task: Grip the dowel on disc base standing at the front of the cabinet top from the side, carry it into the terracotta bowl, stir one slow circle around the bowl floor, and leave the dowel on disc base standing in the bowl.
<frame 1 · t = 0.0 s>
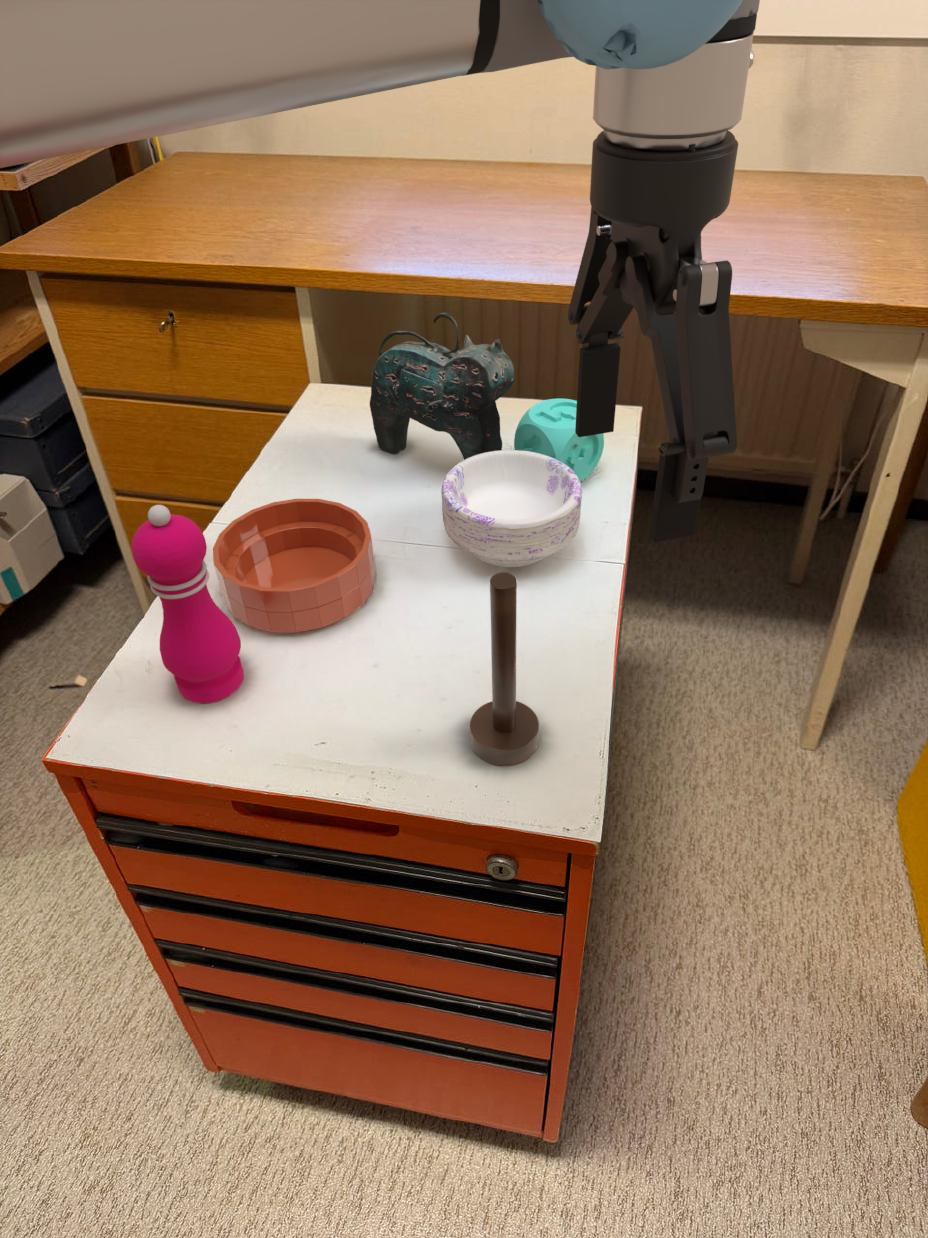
hand: (629, 480, 60), 27 cm above the cabinet, tool pointing down, fingers open, 13 cm apart
bowl: (301, 586, 95), on the cabinet
pepper mill: (211, 682, 85), on the cabinet
paper bowls: (511, 544, 100), on the cabinet
ceramic cat: (439, 465, 113), on the cabinet
dowel on disc base: (504, 739, 78), on the cabinet
decorative dice: (557, 471, 111), on the cabinet
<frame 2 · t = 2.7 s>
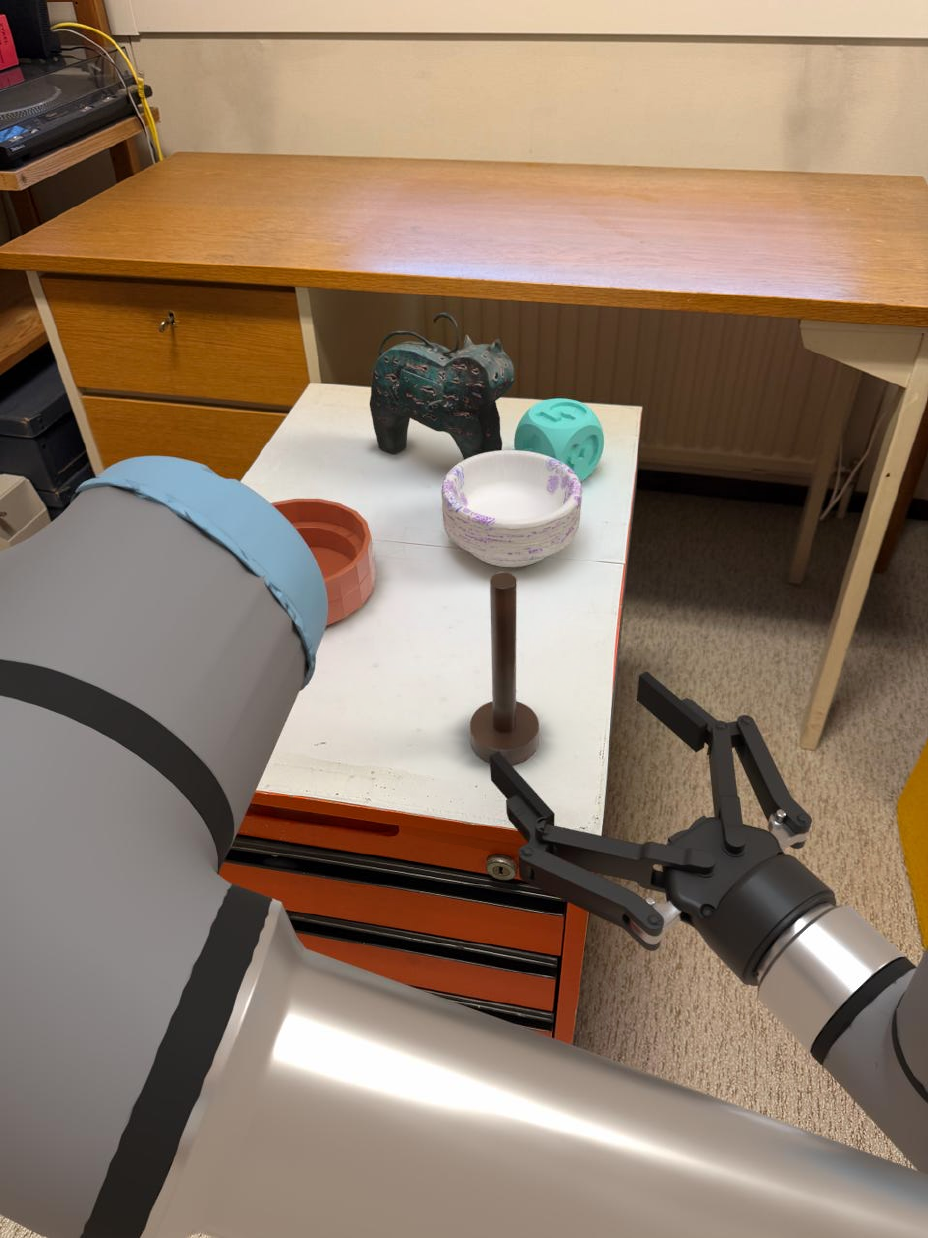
hand: (570, 723, 65), 10 cm above the cabinet, tool horizontal, fingers open, 13 cm apart
nothing on the cabinet moved.
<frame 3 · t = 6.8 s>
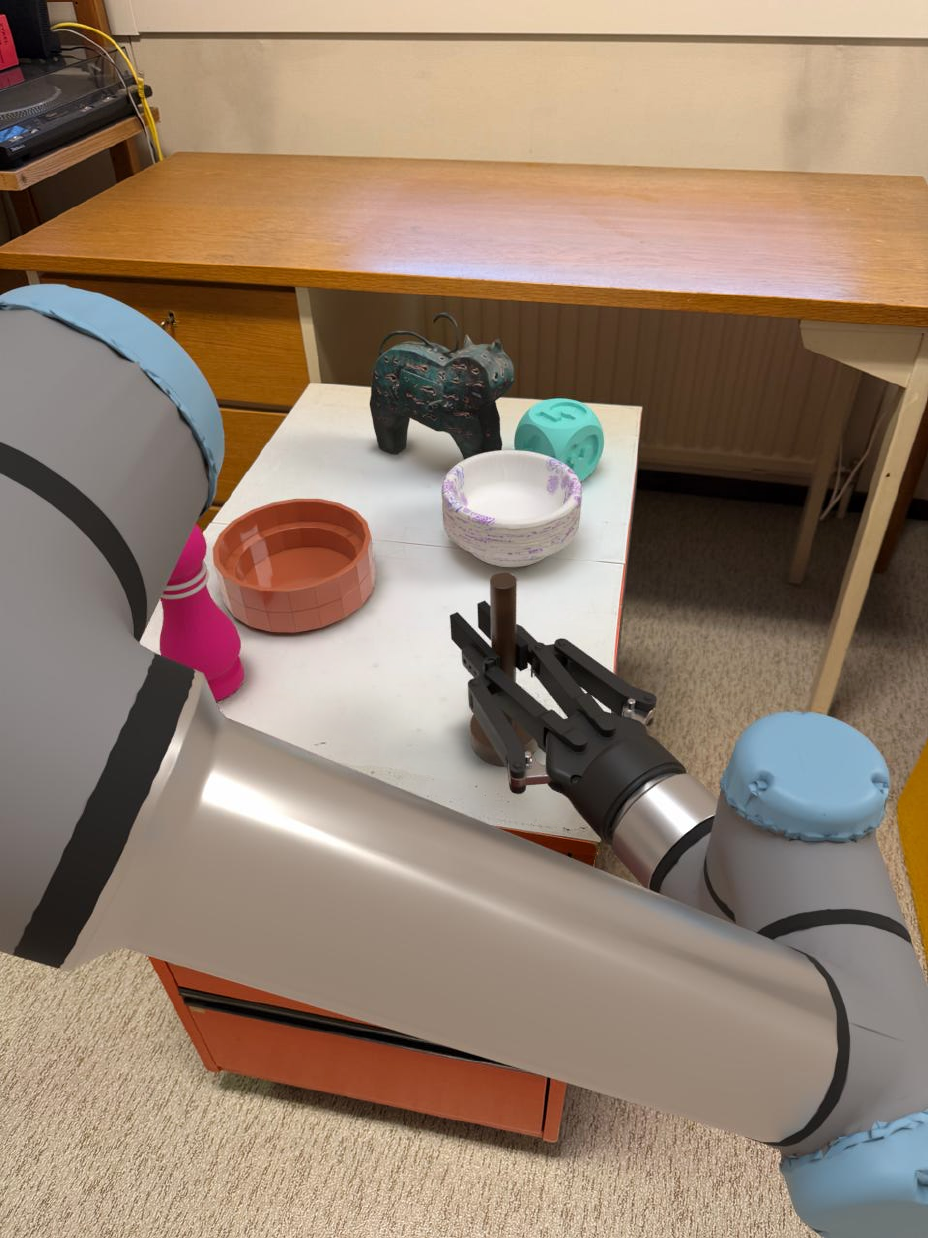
hand: (468, 620, 75), 10 cm above the cabinet, tool horizontal, fingers closed on dowel on disc base, 2 cm apart
dowel on disc base: (504, 739, 78), on the cabinet, touching gripper
everything else where it was.
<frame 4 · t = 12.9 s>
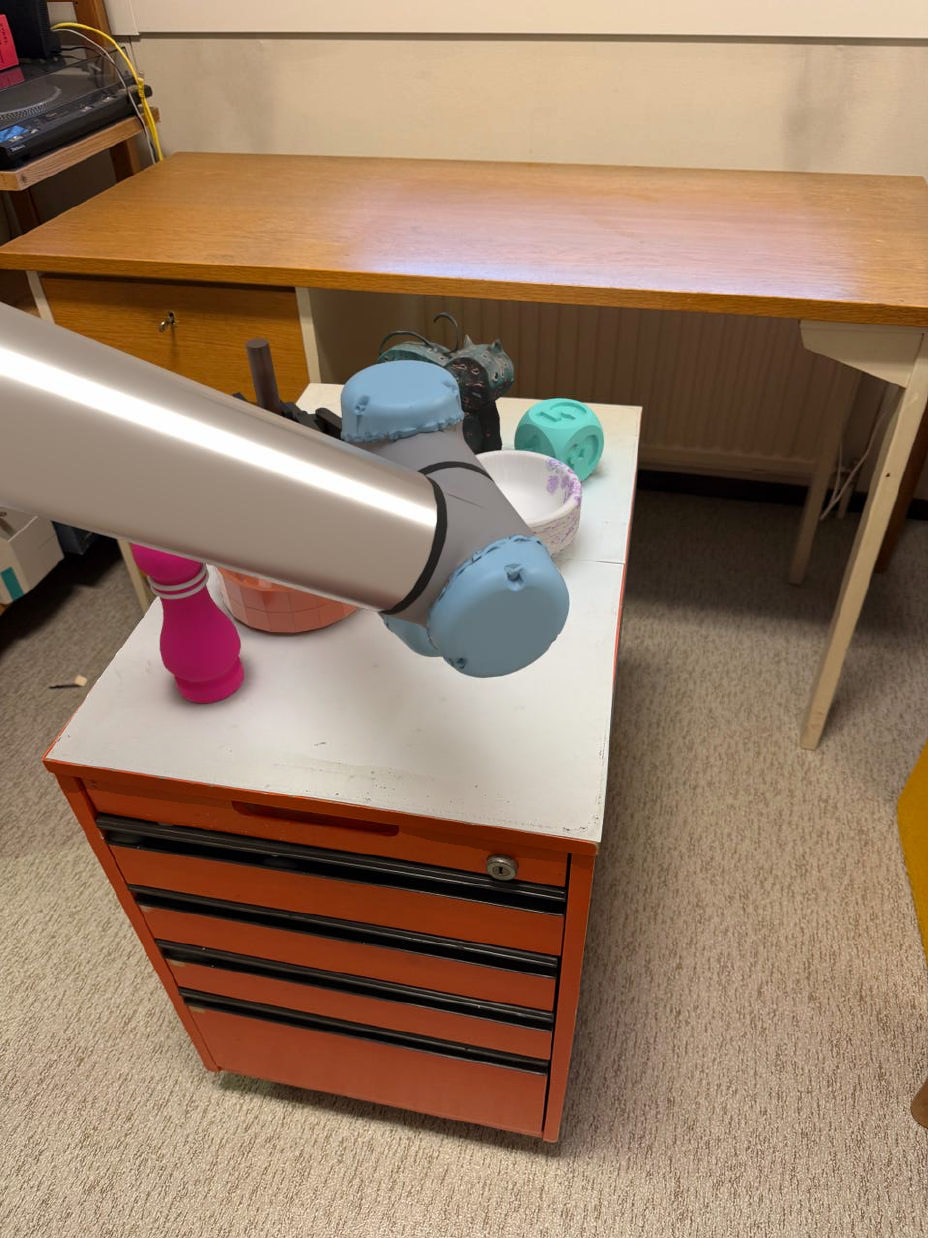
hand: (252, 402, 86), 20 cm above the cabinet, tool horizontal, fingers closed on dowel on disc base, 2 cm apart
dowel on disc base: (291, 514, 89), point 10 cm above the cabinet, touching gripper
everything else where it was.
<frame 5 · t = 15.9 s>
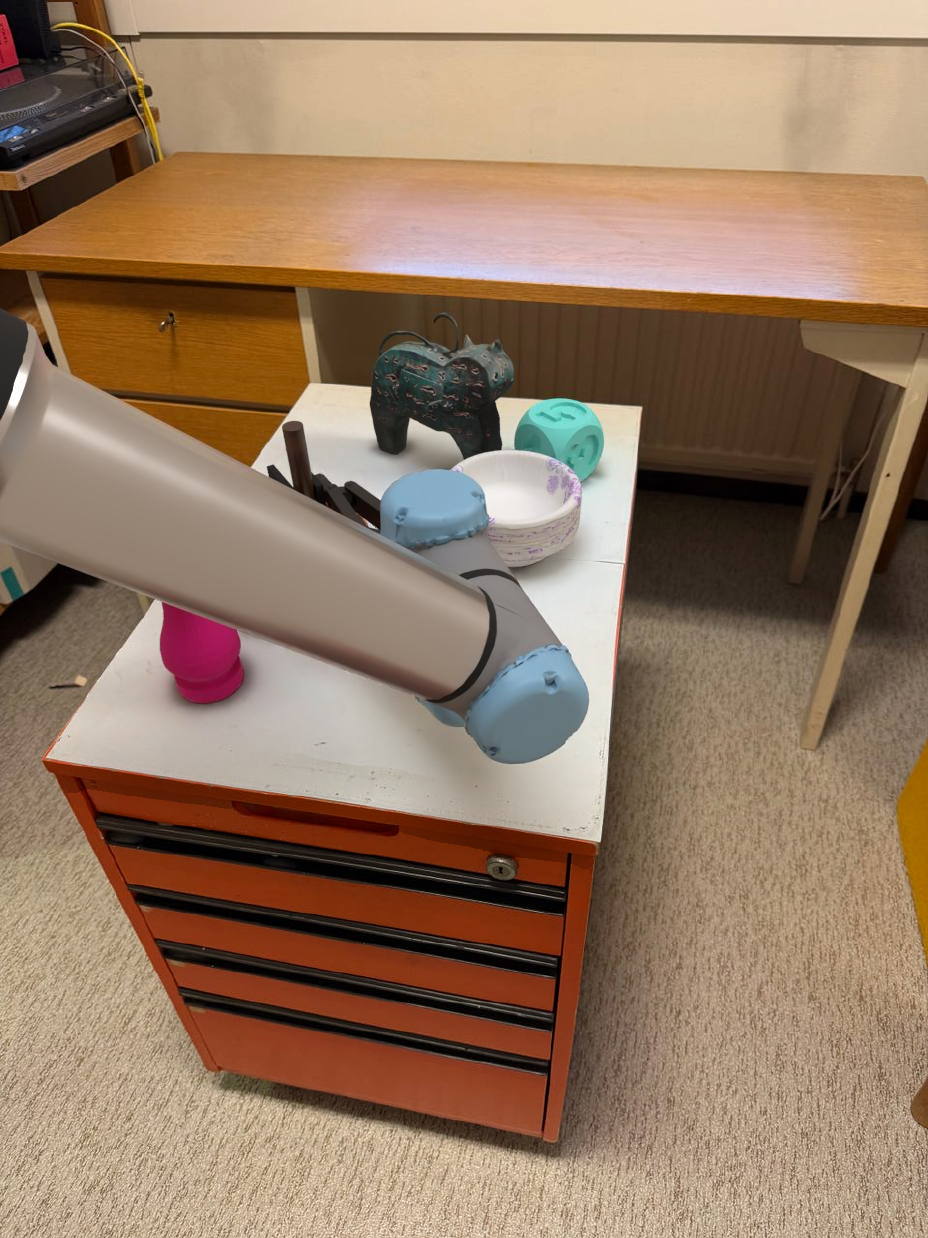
hand: (284, 472, 92), 11 cm above the cabinet, tool horizontal, fingers closed on dowel on disc base, 2 cm apart
dowel on disc base: (319, 574, 95), point 1 cm above the cabinet, touching gripper
everything else where it was.
when the fingers open (11 cm above the cabinet, at t = 19.1 s): dowel on disc base stays where it is, resting on bowl.
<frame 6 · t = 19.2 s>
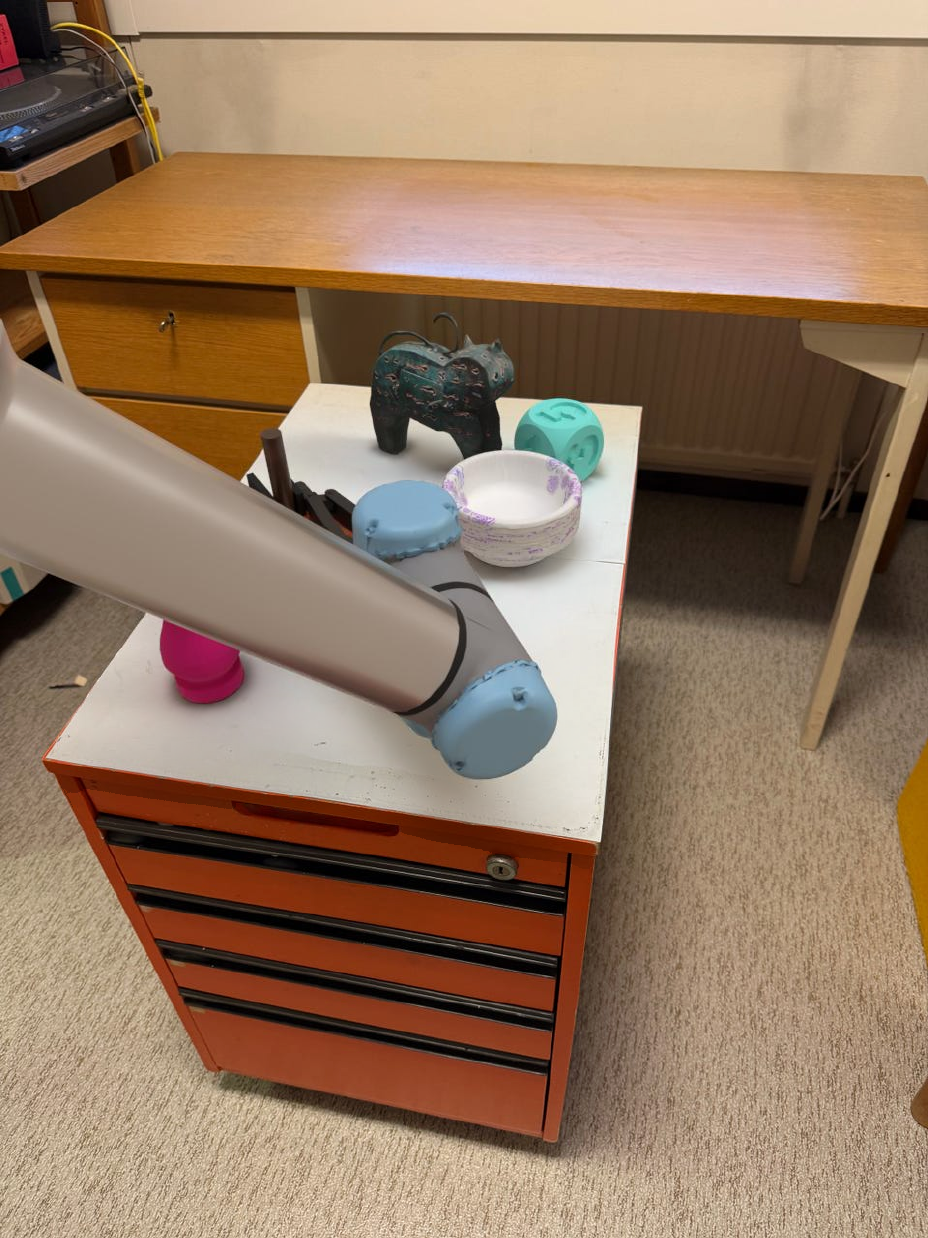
hand: (264, 480, 92), 11 cm above the cabinet, tool horizontal, fingers open, 2 cm apart
dowel on disc base: (300, 582, 95), point 1 cm above the cabinet, touching bowl
everything else where it was.
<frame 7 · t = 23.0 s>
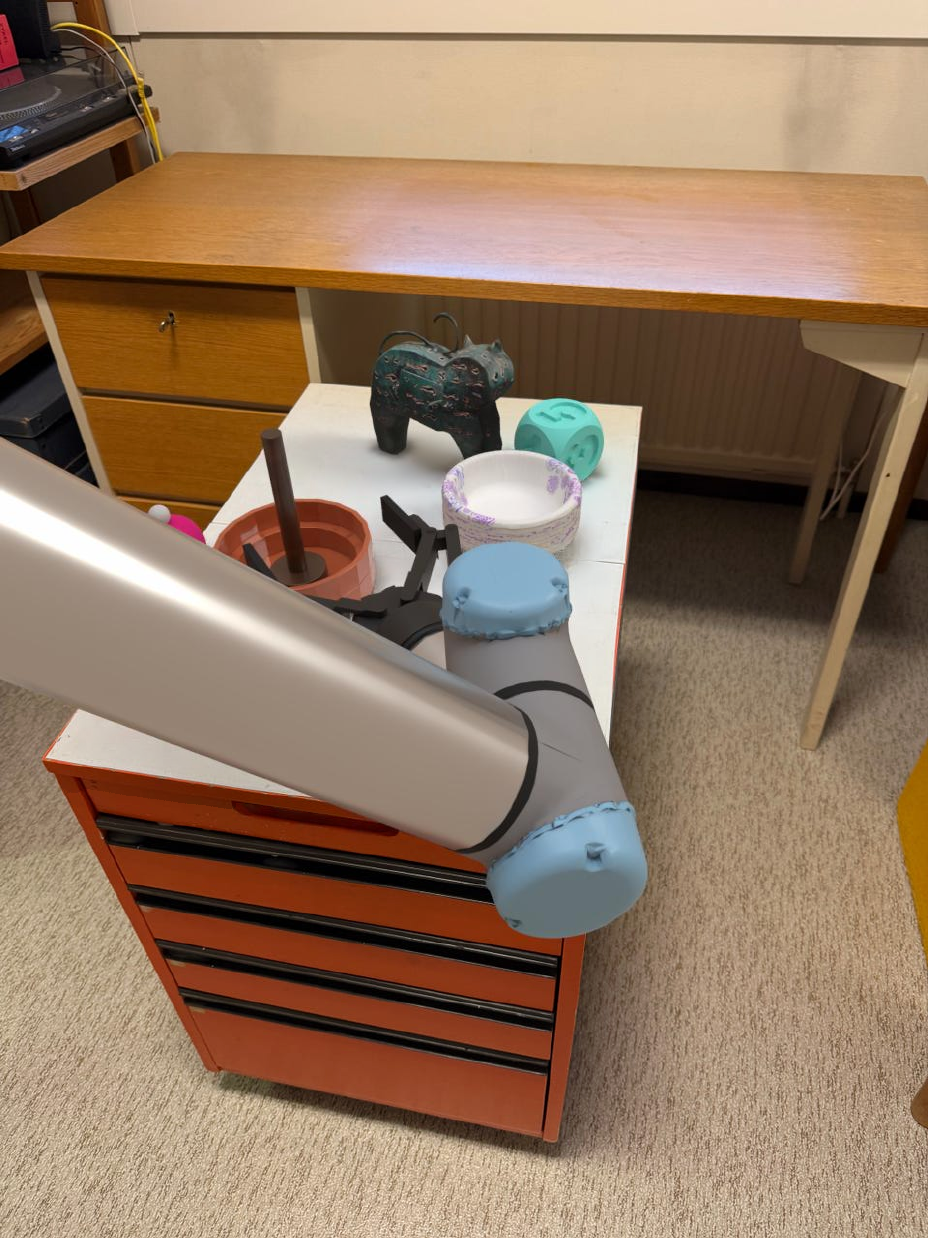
hand: (318, 530, 81), 13 cm above the cabinet, tool horizontal, fingers open, 13 cm apart
nothing on the cabinet moved.
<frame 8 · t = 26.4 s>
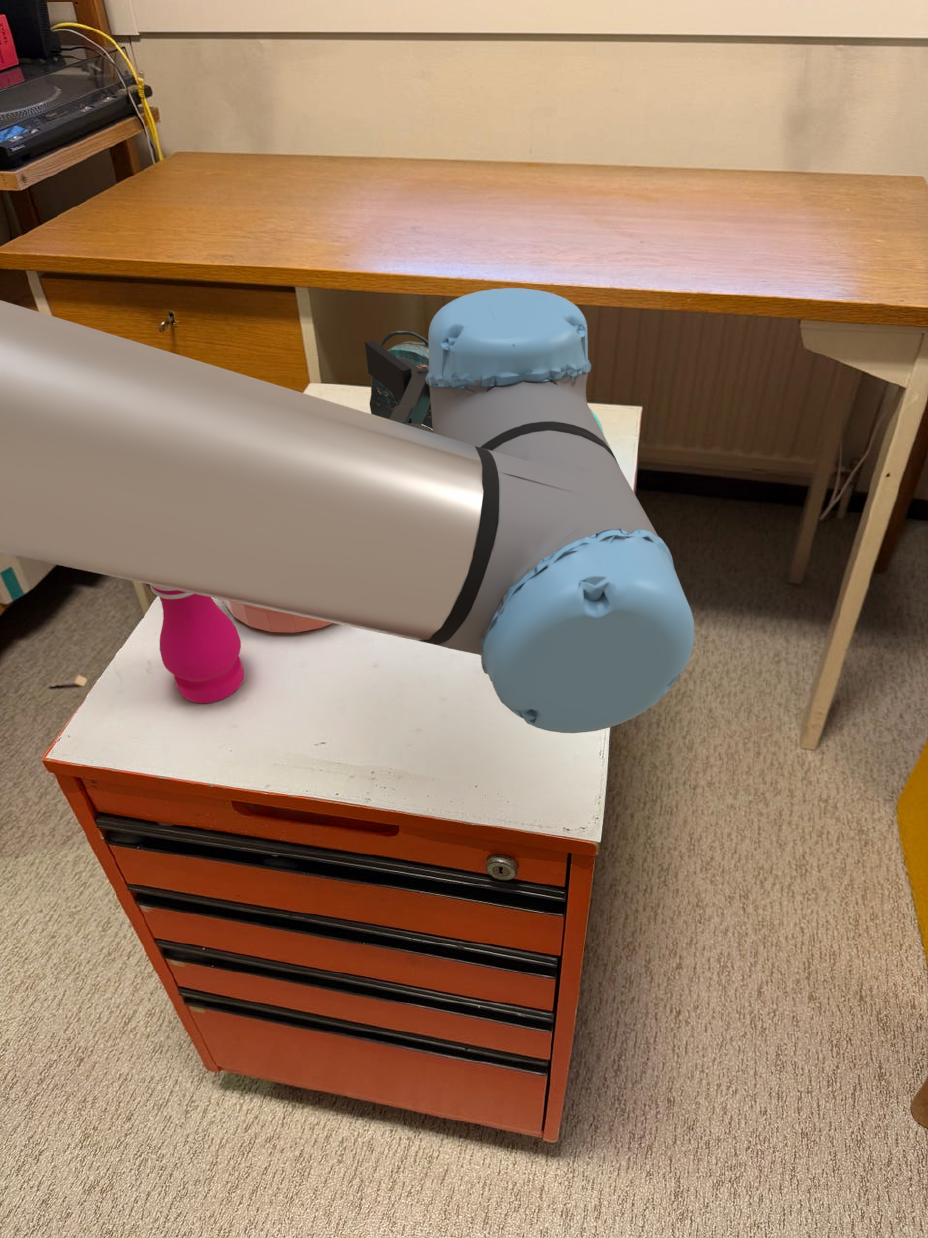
hand: (294, 377, 71), 28 cm above the cabinet, tool horizontal, fingers open, 13 cm apart
nothing on the cabinet moved.
at the end: dowel on disc base inside the target area in the bowl (0.1 cm from its centre), point 0.6 cm above the bowl's base; dowel on disc base moved 30.9 cm from its start; the gripper is holding nothing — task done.
